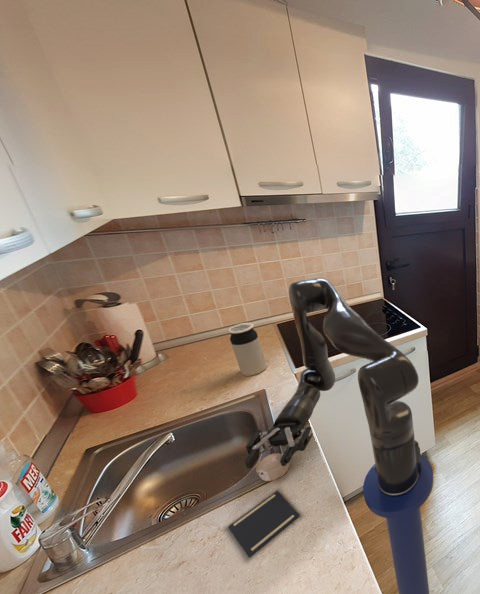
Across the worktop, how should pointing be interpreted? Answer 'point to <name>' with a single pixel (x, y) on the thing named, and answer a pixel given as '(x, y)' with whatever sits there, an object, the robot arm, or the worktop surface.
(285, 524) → the slate mat
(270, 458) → the tan rounded piece
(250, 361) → the travel mug
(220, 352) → the worktop surface
